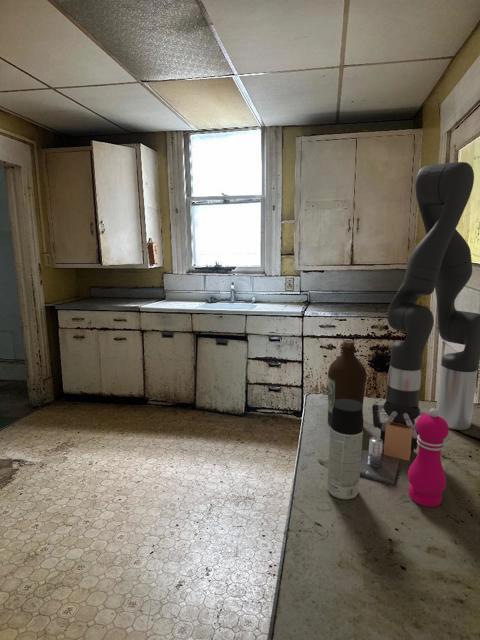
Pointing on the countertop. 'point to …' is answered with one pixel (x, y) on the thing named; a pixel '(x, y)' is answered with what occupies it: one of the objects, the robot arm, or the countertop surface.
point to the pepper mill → (428, 460)
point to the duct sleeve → (398, 440)
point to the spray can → (345, 448)
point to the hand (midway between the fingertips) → (398, 446)
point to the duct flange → (378, 463)
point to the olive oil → (346, 377)
